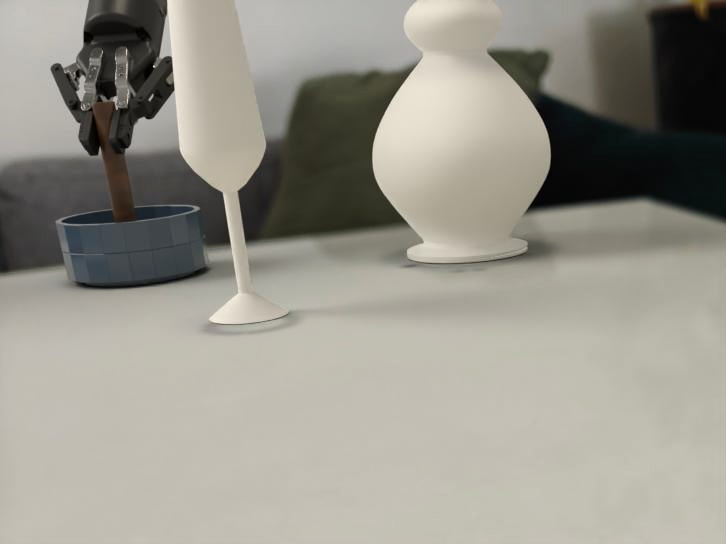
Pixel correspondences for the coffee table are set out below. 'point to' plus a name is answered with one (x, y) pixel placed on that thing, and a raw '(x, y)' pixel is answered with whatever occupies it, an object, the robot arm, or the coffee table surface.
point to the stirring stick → (114, 165)
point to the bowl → (133, 245)
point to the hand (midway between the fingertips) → (103, 148)
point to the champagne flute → (219, 126)
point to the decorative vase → (460, 139)
